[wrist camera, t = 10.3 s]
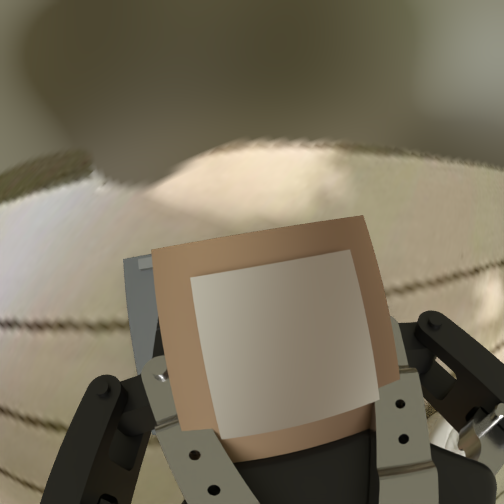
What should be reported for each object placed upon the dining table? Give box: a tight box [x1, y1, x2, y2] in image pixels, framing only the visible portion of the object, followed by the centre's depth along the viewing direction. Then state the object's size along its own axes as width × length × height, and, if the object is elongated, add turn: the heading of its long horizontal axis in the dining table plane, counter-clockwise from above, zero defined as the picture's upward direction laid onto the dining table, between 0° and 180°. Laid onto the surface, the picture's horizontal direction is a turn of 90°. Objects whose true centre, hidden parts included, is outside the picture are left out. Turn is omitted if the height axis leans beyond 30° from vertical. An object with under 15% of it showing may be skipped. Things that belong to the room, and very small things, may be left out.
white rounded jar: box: [427, 412, 466, 457], centre depth 14 cm, size 6×6×7 cm
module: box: [151, 215, 400, 463], centre depth 10 cm, size 5×5×11 cm
